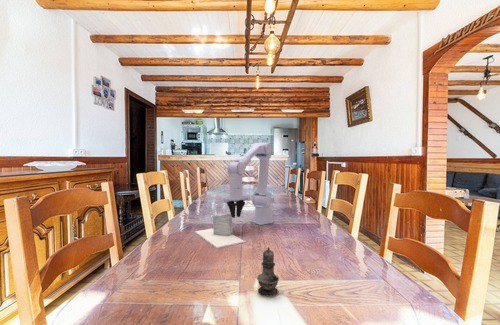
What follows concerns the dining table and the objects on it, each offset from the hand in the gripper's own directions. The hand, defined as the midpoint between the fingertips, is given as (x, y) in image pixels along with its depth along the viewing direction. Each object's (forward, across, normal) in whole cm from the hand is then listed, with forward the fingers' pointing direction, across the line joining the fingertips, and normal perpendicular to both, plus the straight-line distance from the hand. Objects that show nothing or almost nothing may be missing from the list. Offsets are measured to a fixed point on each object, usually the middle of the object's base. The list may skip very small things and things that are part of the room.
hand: (235, 216), depth 114 cm
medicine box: (+8, +5, -2) cm, 10 cm away
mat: (+8, +9, 0) cm, 12 cm away
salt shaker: (+9, +17, +47) cm, 50 cm away
